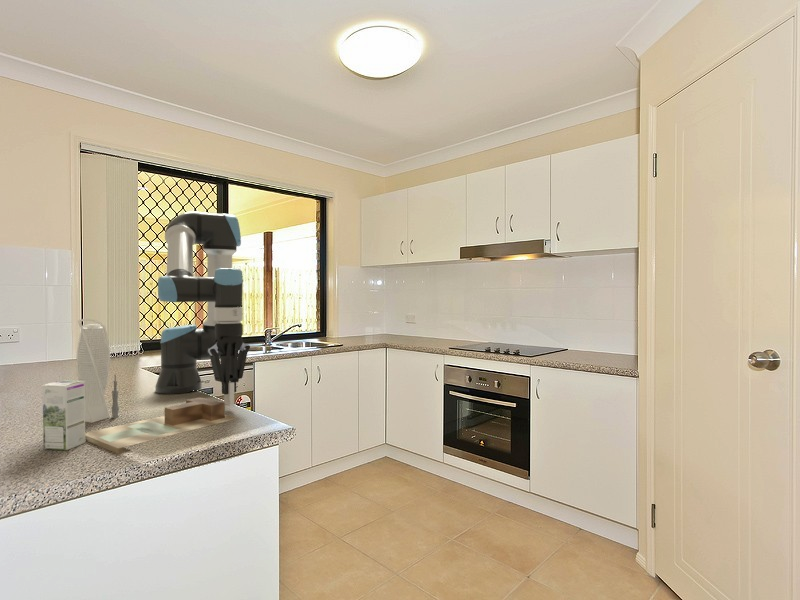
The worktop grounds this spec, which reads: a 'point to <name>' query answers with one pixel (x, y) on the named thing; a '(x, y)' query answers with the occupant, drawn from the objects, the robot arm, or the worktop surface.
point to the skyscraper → (95, 371)
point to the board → (143, 432)
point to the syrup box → (63, 415)
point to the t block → (194, 411)
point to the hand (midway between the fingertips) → (229, 404)
